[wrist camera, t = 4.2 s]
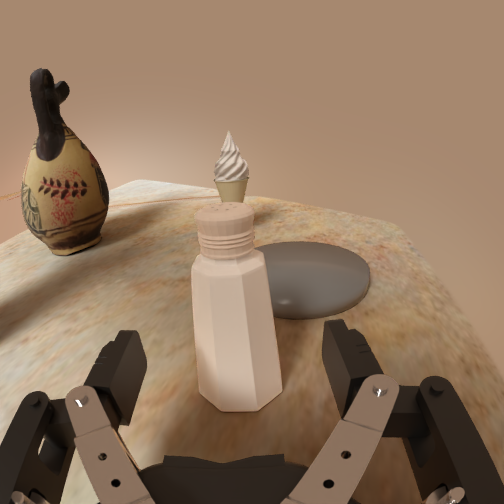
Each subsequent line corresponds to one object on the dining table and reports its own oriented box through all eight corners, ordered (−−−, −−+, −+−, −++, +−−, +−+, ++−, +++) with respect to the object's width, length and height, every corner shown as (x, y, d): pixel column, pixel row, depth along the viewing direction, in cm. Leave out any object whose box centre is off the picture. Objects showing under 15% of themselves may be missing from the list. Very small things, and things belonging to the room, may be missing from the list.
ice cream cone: (234, 240, 43) (226, 130, 37) (211, 234, 46) (202, 132, 40) (259, 231, 46) (253, 128, 40) (236, 225, 49) (229, 130, 44)
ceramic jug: (50, 239, 50) (31, 89, 39) (121, 226, 54) (105, 69, 43) (16, 275, 35) (-11, 75, 24) (106, 259, 39) (84, 43, 28)
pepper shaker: (190, 367, 20) (159, 205, 15) (263, 347, 21) (256, 191, 17) (212, 426, 15) (173, 233, 11) (300, 396, 17) (306, 211, 13)
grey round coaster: (202, 280, 32) (200, 267, 31) (294, 244, 40) (294, 233, 39) (305, 341, 22) (306, 324, 21) (391, 276, 30) (393, 263, 29)
